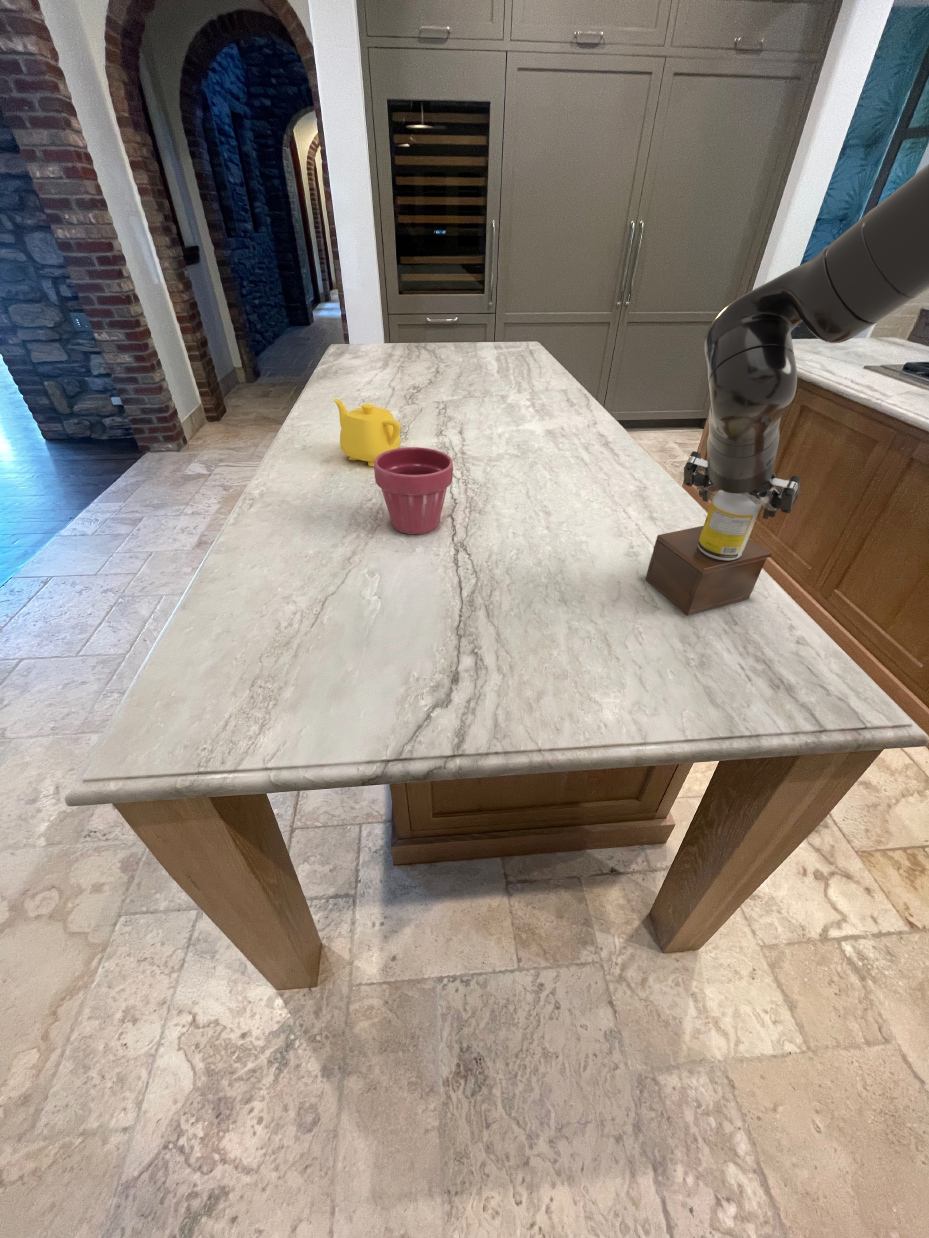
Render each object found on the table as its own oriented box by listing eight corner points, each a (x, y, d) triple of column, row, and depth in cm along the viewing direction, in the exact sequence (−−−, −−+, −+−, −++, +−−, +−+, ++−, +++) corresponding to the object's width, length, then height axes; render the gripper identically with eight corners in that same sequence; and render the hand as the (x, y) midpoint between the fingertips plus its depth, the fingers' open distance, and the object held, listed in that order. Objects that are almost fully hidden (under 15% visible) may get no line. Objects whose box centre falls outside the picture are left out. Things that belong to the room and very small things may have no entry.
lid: (720, 525, 90) (722, 521, 89) (770, 557, 82) (772, 552, 82) (656, 539, 86) (657, 534, 85) (702, 573, 78) (704, 569, 78)
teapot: (357, 440, 139) (352, 390, 131) (419, 457, 131) (417, 405, 123) (320, 455, 130) (312, 403, 123) (383, 475, 122) (379, 420, 114)
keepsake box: (703, 565, 95) (717, 526, 90) (748, 599, 87) (766, 558, 82) (644, 579, 91) (656, 539, 86) (687, 615, 83) (702, 573, 78)
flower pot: (442, 503, 111) (442, 443, 103) (460, 536, 101) (461, 471, 93) (374, 511, 108) (368, 449, 100) (385, 545, 98) (379, 479, 90)
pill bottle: (723, 538, 85) (749, 468, 78) (750, 559, 80) (781, 486, 73) (687, 543, 83) (710, 472, 76) (713, 565, 79) (740, 491, 71)
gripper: (821, 435, 60) (801, 495, 75) (696, 409, 67) (700, 468, 82) (792, 494, 60) (777, 543, 75) (669, 462, 67) (678, 512, 81)
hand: (737, 504), depth 78 cm, fingers open, 8 cm apart
